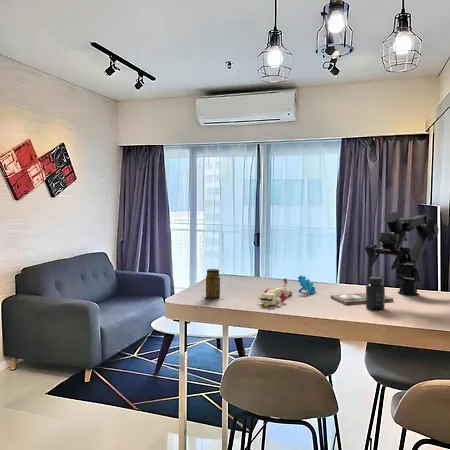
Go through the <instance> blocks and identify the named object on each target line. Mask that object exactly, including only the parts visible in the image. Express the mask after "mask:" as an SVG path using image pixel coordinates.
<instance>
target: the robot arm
mask: <svg viewBox="0 0 450 450" xmlns="http://www.w3.org/2000/svg"><path fill="white" fill-rule="evenodd" d="M383 220H384V221H383V222H385V226H386V228H387V231H388V232H380V234H379V238H378V241H379V242H380V243H381V244H380V245H381V247H380V248H379V247H378V246H377V244H369V243H367V244H366V245H365V247H364V249H365V252H366V254H367V256H368V257H369V263H368V264H369V267H370V268H371V267H373V265H374V264H375V263H376V262H377V260H378V258H379V257H380V254H381V255H385V256H391V257H395V259H394V261H393V263H392V264H391V267H390V269H391V270H395V272H396V279H397V280H400V283H399V290H398V291H397V293H399V294H401V295H403V296H407V297H408V296H418V295H420V293H418V282H419V283H420V282H421V280H422V275H421V272H420V268H419V266H418V264H419V262H420V260H421V257H422V256H423V253H424V251H425V250H426V247H427V245H428V244H429V242H431V241H433V240H435V238H436V237H437V235H439V230H440V229H439V227H438V224H437V223H436V222H435V221H434V220H432V219H431V218H430V216H429V215H427V214H416V215H415V216H412V217H408V218H404V217H399V213H398V211H397V212H396V211H393V212H391V213H390V214H387V215H386V216H384V218H383ZM414 230H415V231H416V233H417V237H416V238H417V239H416V240H415V242H414V244H413V245H412V248H411V247H405V246H404V247H403V246H402V245H403V242H407V240H408V239H407V233H412V232H413V231H414Z"/></svg>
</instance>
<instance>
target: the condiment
mask: <svg viewBox="0 0 450 450" xmlns="http://www.w3.org/2000/svg"><path fill="white" fill-rule="evenodd" d="M220 276H221V275H220V270H219V269H217V268H208V269H207V270H206V276H205V295H202V297H203V299H205V300H207V301H220V300H221V301H222V300H225V298H224V297H222V296H221V277H220Z"/></svg>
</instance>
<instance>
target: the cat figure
mask: <svg viewBox="0 0 450 450" xmlns="http://www.w3.org/2000/svg"><path fill="white" fill-rule="evenodd" d="M287 279H288V278H286V277H285V278H284V277H283V285H282V287H278V288H277V287H276V288H274V289H272V290H270V291H269V289H271V287H269V288H266V289H265V290H264V291H263V293H262V294H261V295H260V296H258V298H257V299H258V300H259V301H260V302H261V304H262V305H263V306H264V307H268V306H274V305H278V304H279V303H281V304H282V303H284V302H285V300H287V297H286V296H292V295H293V291H292V289H289V288H288V289H287V286H288V285H287V284H288V280H287Z"/></svg>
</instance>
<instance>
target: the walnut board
mask: <svg viewBox="0 0 450 450" xmlns="http://www.w3.org/2000/svg"><path fill="white" fill-rule="evenodd" d="M330 299H331V300H334V301H336V302H338V303H340V304H342V305H345V306H348V305H362V304H363V305H364V304H365V305H366V292H359V293H346V294H345V293H343V294H342V293H341V294H331V295H330ZM389 302H390V303H392V302H394V298H392V297H391V296H388V295H385V303H389Z"/></svg>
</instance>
